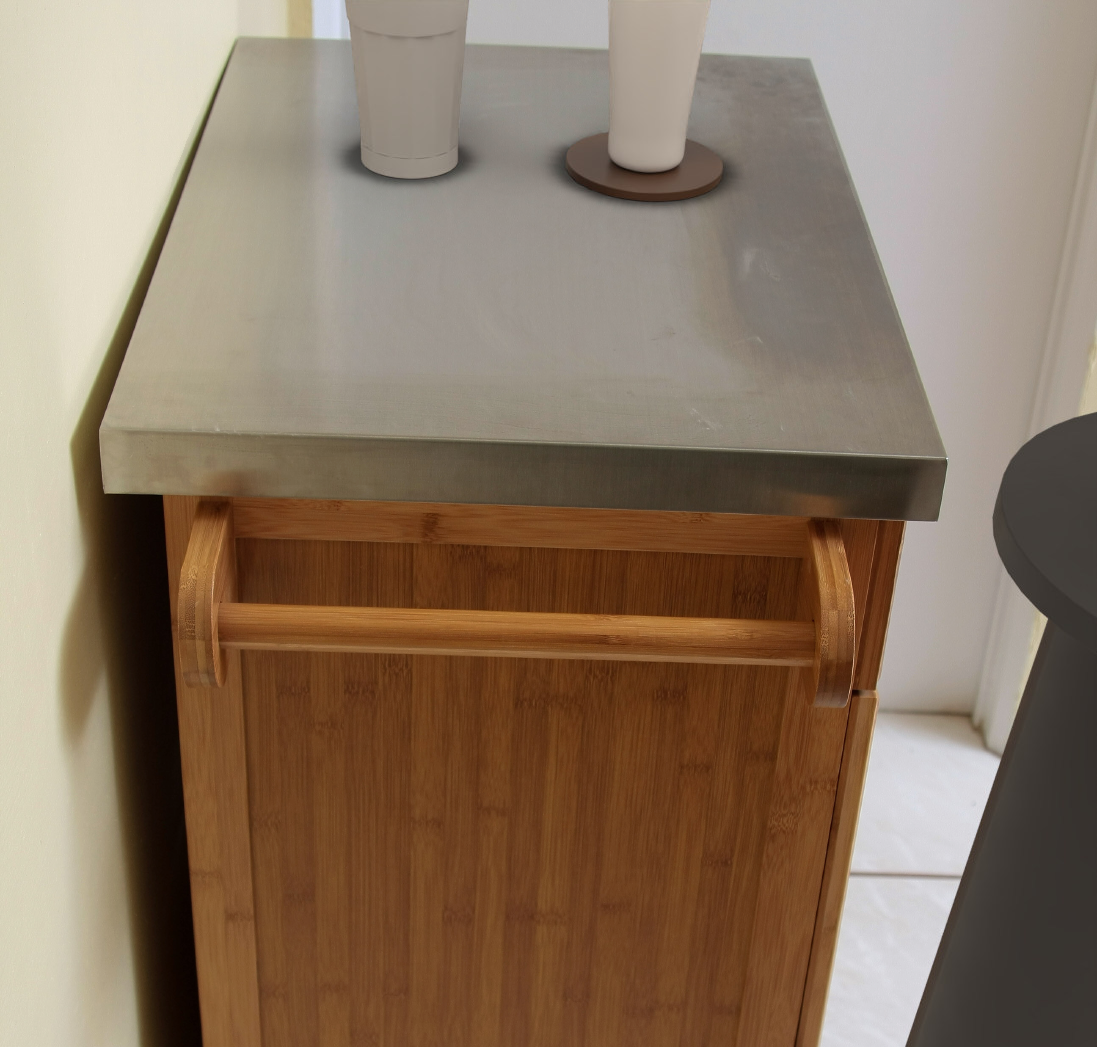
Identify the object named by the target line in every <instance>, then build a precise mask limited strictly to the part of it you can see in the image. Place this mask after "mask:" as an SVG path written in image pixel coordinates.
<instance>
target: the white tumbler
mask: <svg viewBox="0 0 1097 1047" xmlns="http://www.w3.org/2000/svg"><path fill="white" fill-rule="evenodd" d="M711 2H712V0H607V5H608V6H607V14H608V15H607V23H608V24H607V25H608V26H607V28H608V29H607V30H608V34H607V35H608V116H609V117H608V132H609V135H608V154H609V156H610V158H611V160H612V161H613V162H614V163H616V164H617V165H619V166H621V167H623V168H625V169H628V170H632V171H637V172H646V173H654V172H663V171H667V170H670V169H672V168H674V167H676V166H677V165H679V164H680V162H681V161H682V159H683V156H684V151H685V142H686V138H687V133H688V125H689V120H690V115H691V109H692V103H693V99H694V92H695V87H696V82H697V77H698V72H699V66H700V60H701V55H702V50H703V45H704V39H705V35H706V31H707V30H706V29H707V25H708V19H709V13H710V8H711V7H710V6H711Z"/></svg>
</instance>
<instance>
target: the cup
mask: <svg viewBox="0 0 1097 1047" xmlns="http://www.w3.org/2000/svg"><path fill="white" fill-rule="evenodd" d="M344 4H345V13H346V18H347V21H348V27H349V36H350V43H351V44H350V45H351V53H352V62H353V72H354V82H355V91H356V101H357V107H358V108H357V109H358V117H359V118H358V119H359V126H360V135H361V136H360V159H361V163H362V165H363V166H364V167H365V168H367V169H368V170H370V171H371V172H374V173H376V174H378V175H382V176H385V177H391V178H395V179H409V180H410V179H414V180H415V179H428V178H433V177H437V176H440V175H444V174H446V173H448V172H450V171H452V170H453V169H454V168H456V166H457V165H458V162H459V130H460V128H459V127H460V117H461V116H460V115H461V104H462V103H461V101H462V90H463V75H464V63H465V50H466V38H467V24H468V17H469V7H470V6H469V5H470V0H344Z"/></svg>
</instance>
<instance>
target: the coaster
mask: <svg viewBox="0 0 1097 1047" xmlns="http://www.w3.org/2000/svg"><path fill="white" fill-rule="evenodd" d="M608 135H609V131H608V132H600V133H596V134H593V135H589V136H587V137H584V138H582V139H579V140H578V141H576V142H575V143H573V144H572V145H571V146H570V147H569V148H568V150H567V152H566V156H565V168H566V169H565V170H566V171H567V173H568V175H569V176H570V177H571V178H572V179H573V180H574V181H576V182H577V183H578V184H580V185H582V186H583V187H585V188H587V189H590V190H592V191H595V192H597V193H599V194H603V195H606V196H611V197H615V198H619V199H624V200H632V201H639V202H641V201H642V202H671V201H672V202H673V201H679V200H685V199H690V198H695V197H698V196H701V195H704V194H706V193H708V192H710V191H711V190H713V189H715V188H716V187H717V186H718V185H719V184H720V182H721V181H722V178H723V173H724V172H723V171H724V165H723V161H722V158H720V156H719V155H718V154H717V153H716V152H715V151H713V150H712V149H710V148H709V147H708V146H706V145H704V144H702V143H700V142H697V141H694V140H692V139H689V138H687V137H686V142H685V151H684V156H683V159H682V161H681V162H680V164H679V165H677V166H676V167H674V168H672V169H670V170H667V171H663V172H654V173H646V172H637V171H632V170H628V169H625V168H623V167H621V166H619V165H617V164H616V163H614V162H613V161H612V160H611V158H610V156H609V154H608Z"/></svg>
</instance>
